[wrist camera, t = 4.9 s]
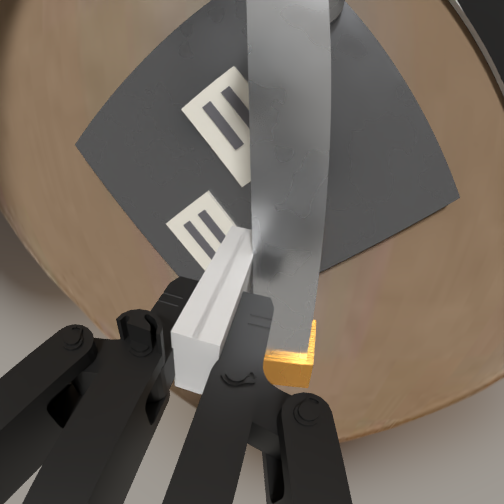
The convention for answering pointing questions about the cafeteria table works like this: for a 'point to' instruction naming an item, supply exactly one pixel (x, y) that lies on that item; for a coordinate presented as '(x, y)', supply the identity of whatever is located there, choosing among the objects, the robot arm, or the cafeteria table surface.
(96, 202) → the cafeteria table surface
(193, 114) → the label
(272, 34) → the swing arm
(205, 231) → the label
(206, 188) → the board
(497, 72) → the smartphone
